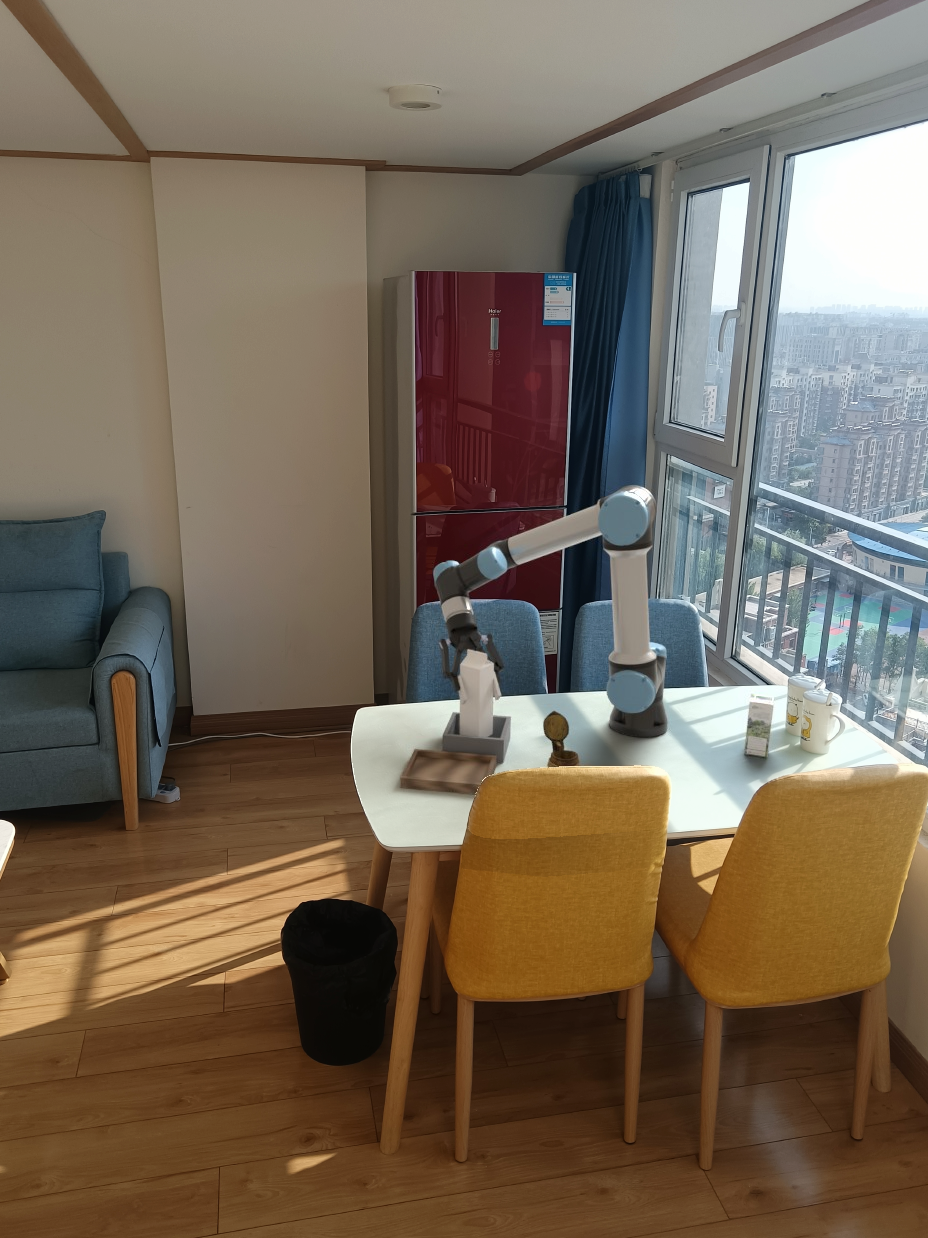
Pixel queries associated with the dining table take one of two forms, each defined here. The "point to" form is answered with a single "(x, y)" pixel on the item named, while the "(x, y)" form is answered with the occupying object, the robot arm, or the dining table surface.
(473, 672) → the milk
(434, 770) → the tray
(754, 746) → the white drink carton
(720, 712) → the dining table surface
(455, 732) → the box
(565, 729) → the wooden mug
